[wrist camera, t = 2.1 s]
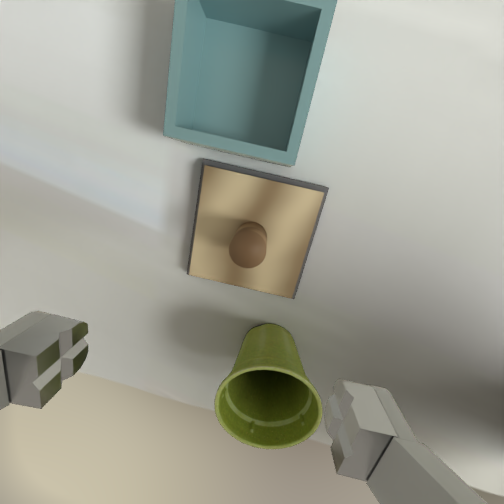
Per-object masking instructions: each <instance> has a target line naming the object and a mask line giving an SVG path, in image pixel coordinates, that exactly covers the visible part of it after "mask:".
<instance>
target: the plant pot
mask: <svg viewBox="0 0 504 504" xmlns="http://www.w3.org/2000/svg"><path fill="white" fill-rule="evenodd" d="M214 405H215V413H216V416H217V418H218V421H219V423H220V425H221V426H222V427H223V428H224V429H225V430H226V431H227V432H228V433H229V434H230V435H231V436H232V437H234V438H235V439H237V440H239V441H240V442H242V443H245V444H247V445H250V446H252V447H257V448H263V449H282V448H287V447H291V446H294V445H297V444H299V443H301V442H303V441H305V440H306V439H308V438H309V437H310V436H311V435H312V434H313V433H314V432H315V431H316V430H317V428H318V426H319V424H320V422H321V419H322V403H321V400H320V397H319V394H318V392H317V391H316V389H315V387H314V386H313V385H312V384H311V383H310V381H309V379H308V378H307V377H306V375H305V372H304V369H303V366H302V363H301V360H300V358H299V355H298V352H297V349H296V345H295V342H294V340H293V338H292V336H291V334H290V333H289V332H288V331H287V330H286V329H284V328H283V327H281V326H278V325H275V324H264V325H261V326H258V327H254V328H252V329H251V330H250V331H249V332H248V333H247V334H246V336H245V338H244V341H243V343H242V346H241V349H240V352H239V354H238V357H237V359H236V362H235V364H234V367H233V370H232V371H231V373H230V374H229V375H228V377H227V378H226V379H225V380H224V381H223V382H222V383H221V385H220V386H219V388H218V390H217V393H216V397H215V403H214Z"/></svg>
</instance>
